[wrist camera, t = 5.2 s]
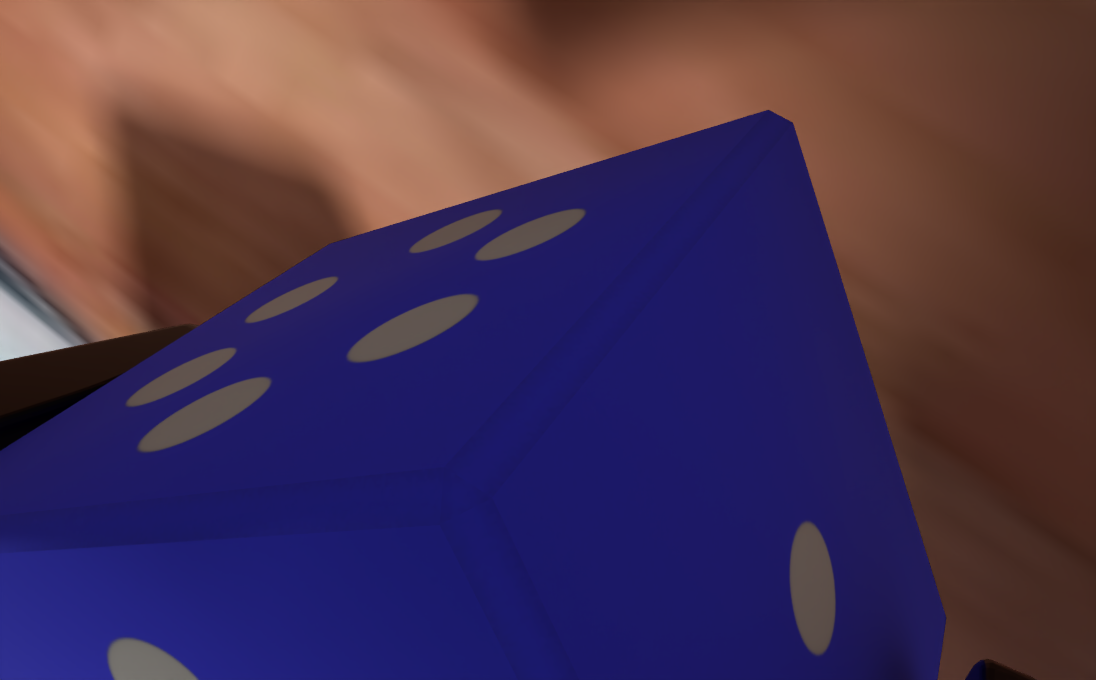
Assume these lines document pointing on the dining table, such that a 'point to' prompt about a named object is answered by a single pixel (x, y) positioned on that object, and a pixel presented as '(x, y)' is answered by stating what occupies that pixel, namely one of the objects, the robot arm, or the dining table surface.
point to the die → (496, 456)
